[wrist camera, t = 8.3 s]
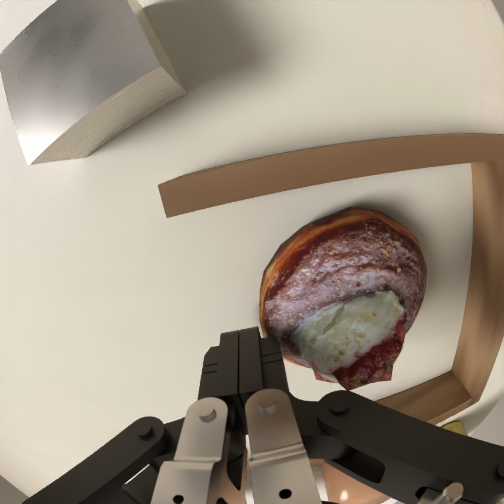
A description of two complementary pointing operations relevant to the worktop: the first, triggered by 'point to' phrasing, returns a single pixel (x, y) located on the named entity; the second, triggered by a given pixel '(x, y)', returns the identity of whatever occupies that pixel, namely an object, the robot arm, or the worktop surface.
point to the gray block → (84, 77)
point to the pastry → (344, 295)
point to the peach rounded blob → (348, 488)
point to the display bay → (378, 162)
